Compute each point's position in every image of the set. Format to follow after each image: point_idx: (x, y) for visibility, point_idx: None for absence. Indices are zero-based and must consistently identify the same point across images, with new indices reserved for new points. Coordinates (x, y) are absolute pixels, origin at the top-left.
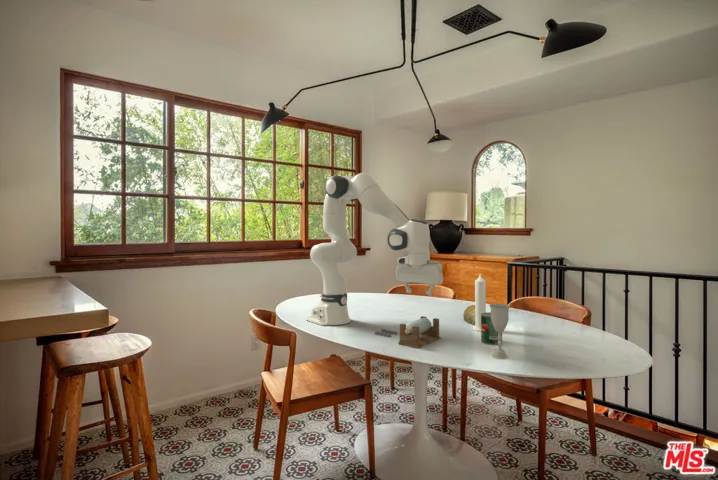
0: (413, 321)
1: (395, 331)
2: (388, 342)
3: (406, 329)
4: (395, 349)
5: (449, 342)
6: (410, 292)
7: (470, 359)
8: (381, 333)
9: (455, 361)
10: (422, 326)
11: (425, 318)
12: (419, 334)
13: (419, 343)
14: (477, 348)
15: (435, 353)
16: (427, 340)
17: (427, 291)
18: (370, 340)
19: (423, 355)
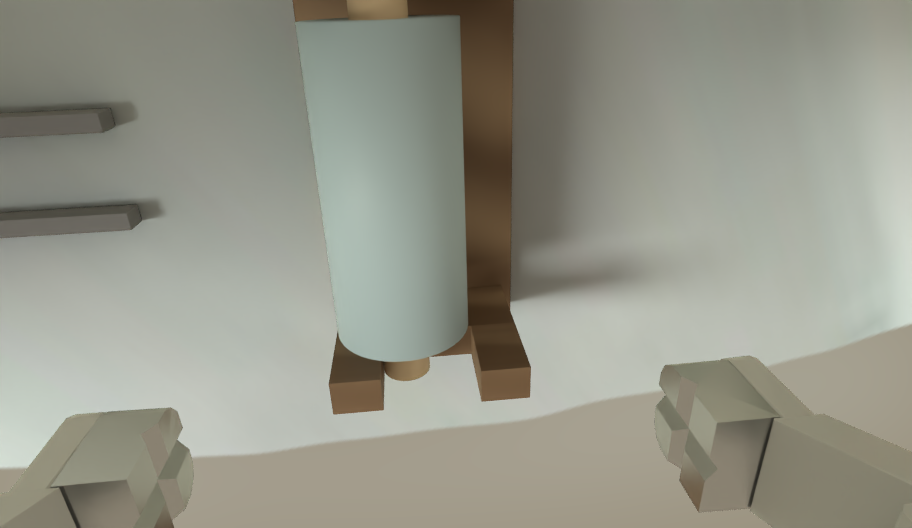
0: (377, 266)
1: (79, 117)
2: (249, 327)
3: (410, 378)
4: (399, 402)
5: (634, 11)
6: (174, 445)
7: (871, 266)
8: (32, 232)
9: (798, 345)
10: (463, 206)
11: (398, 50)
12: (310, 18)
13: (479, 252)
14: (884, 17)
15: (648, 308)
16: (485, 145)
17: (722, 502)
18: (112, 374)
19: (602, 378)
